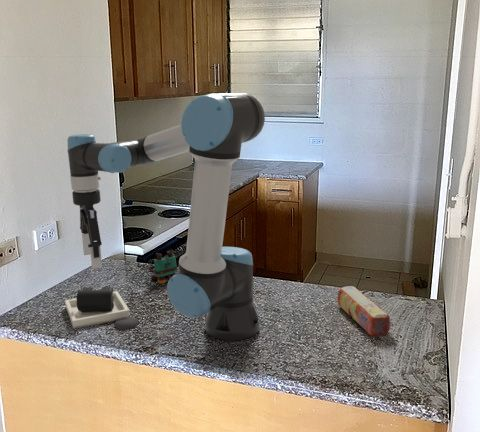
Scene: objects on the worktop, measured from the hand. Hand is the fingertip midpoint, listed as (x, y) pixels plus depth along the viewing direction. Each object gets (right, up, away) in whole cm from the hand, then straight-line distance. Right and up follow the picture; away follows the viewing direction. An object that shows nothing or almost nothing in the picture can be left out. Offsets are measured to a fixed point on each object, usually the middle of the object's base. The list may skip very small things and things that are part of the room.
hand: (92, 260), depth 153 cm
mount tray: (0, -16, +4) cm, 16 cm away
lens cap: (+11, -18, -4) cm, 21 cm away
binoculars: (+16, -9, +31) cm, 36 cm away
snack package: (+78, -17, -3) cm, 80 cm away
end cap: (0, -16, +4) cm, 16 cm away
